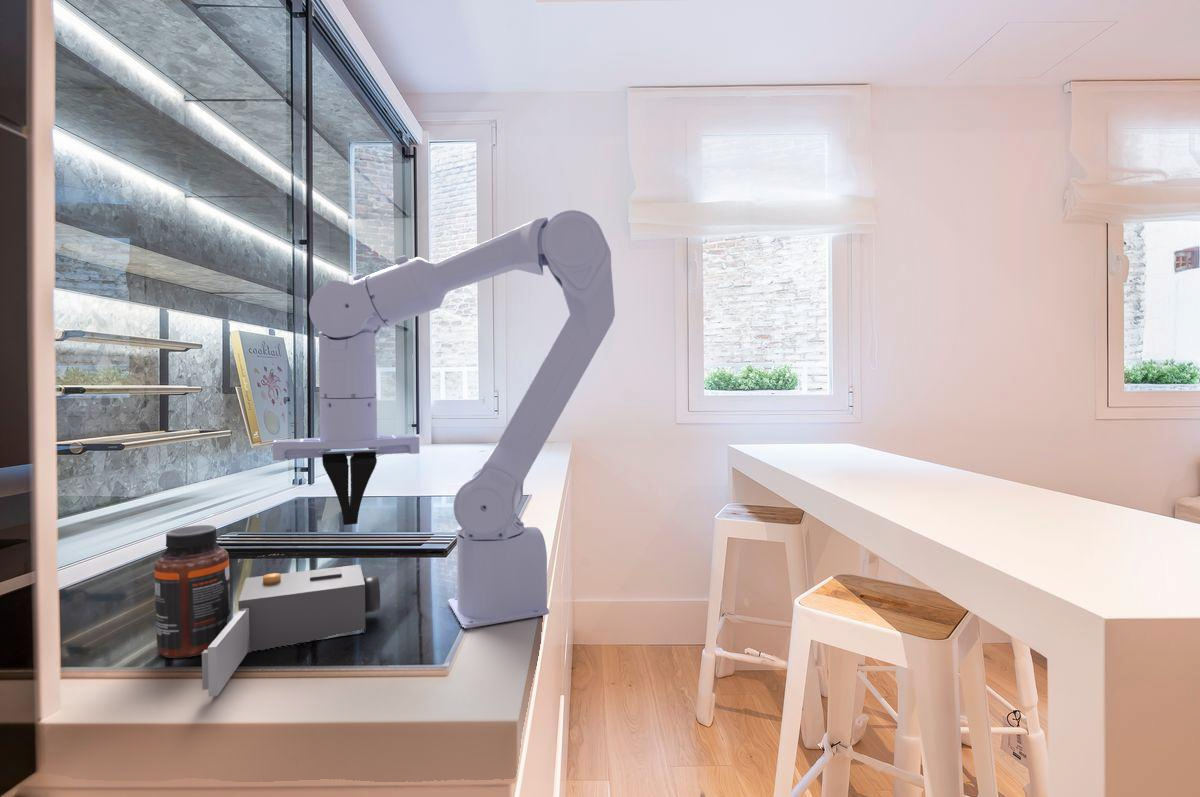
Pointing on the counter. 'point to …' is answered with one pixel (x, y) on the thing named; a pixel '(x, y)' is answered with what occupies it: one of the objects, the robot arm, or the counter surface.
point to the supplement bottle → (191, 592)
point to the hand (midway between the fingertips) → (350, 522)
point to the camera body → (307, 605)
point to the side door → (226, 653)
